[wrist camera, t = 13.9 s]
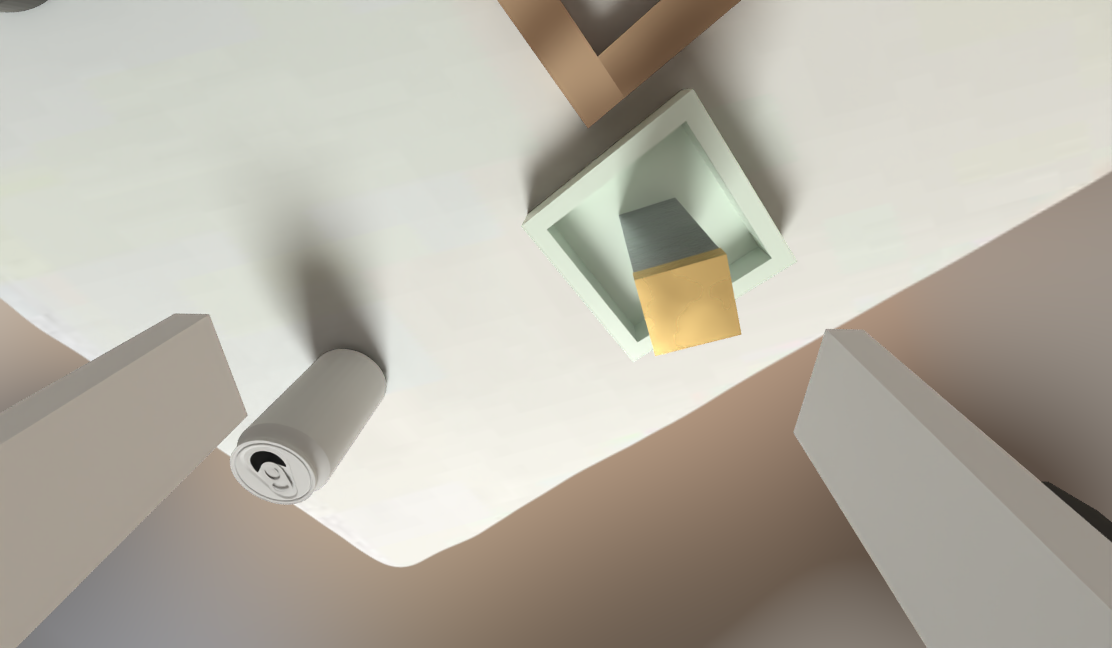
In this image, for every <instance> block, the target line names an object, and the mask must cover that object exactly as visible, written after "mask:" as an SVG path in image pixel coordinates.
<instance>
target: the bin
mask: <svg viewBox="0 0 1112 648" xmlns="http://www.w3.org/2000/svg"><path fill="white" fill-rule="evenodd" d="M672 198H676V199H677V200H678V201H679V203H680V204H681V205H682V206H683V207H684V208H685V209H686V211H687V212H688V213H689V214H690V215H691V216H692V217H693V219H694V220H695V221H696V222H697V223H698V224H699V226H700V227H701V228H702V229H703V230H704V231H705V232H706V234H707V235H708V236H709V237H710V238H711V239H712V241H713V242H714V243H715V244H716V245H717V246H718V247H719V248H721V249H722V250H723V251H724V252H725V253H726V254H727V259H728V265H729V270H730V275H731V281H732V286H733V292H734V297H735V300H736V299H737V298H739V297H740V296H742V295H744V294H745V293H747V292H749V291H750V290H752V289H754V288H755V287H757V286H758V285H760V284H762V283H763V282H765V281H767V280H768V279H770V278H771V277H773V276H775V275H776V274H778V273H780V272H781V271H783V270H785V269H786V268H788V267H789V266H791V265H793V264H794V263H796V262H797V260H796V258H795V257H794V255H793V254H792V252H791V250H790V249H789V247H788V245H787V244H786V242H785V240H784V239H783V237H782V235H781V234H780V232H779V230H778V229H777V227H776V225H775V224H774V222H773V220H772V219H771V217H770V215H769V214H768V212H767V210H766V209H765V207H764V205H763V204H762V202H761V200H760V199H759V197H758V196H757V194H756V192H755V191H754V189H753V187H752V186H751V184H750V182H749V181H748V179H747V177H746V176H745V174H744V172H743V171H742V169H741V167H740V166H739V164H738V162H737V161H736V159H735V157H734V156H733V154H732V152H731V151H730V149H729V147H728V146H727V144H726V143H725V141H724V139H723V138H722V136H721V134H720V133H719V131H718V129H717V128H716V126H715V124H714V123H713V121H712V119H711V118H710V116H709V114H708V113H707V111H706V109H705V108H704V106H703V104H702V103H701V101H700V99H699V98H698V96H697V94H696V93H695V91H694V89H684V90H681V91H680V92H678V93H677V94H676V95H675V96H673V97H672V98H671V99H670V100H669V101H667V102H666V103H665V104H664V105H662V106H661V107H660V108H659V109H657V110H656V111H655V112H654V113H652V114H651V115H650V116H649V117H647V118H646V119H645V120H644V121H642V122H641V123H640V124H639V125H638V126H636V127H635V128H634V129H633V130H631V131H630V132H629V133H628V134H626V135H625V136H624V137H623V138H621V139H620V140H619V141H618V142H616V143H615V144H614V145H613V146H611V147H610V148H609V149H608V150H607V151H605V152H604V153H603V154H602V155H600V156H599V157H598V158H597V159H595V160H594V161H593V162H592V163H590V164H589V165H588V166H587V167H585V168H584V169H583V170H582V171H580V172H579V173H578V174H577V175H576V176H574V177H573V178H572V179H571V180H569V181H568V182H567V183H566V184H564V185H563V186H562V187H561V188H559V189H558V190H557V191H556V192H554V193H553V194H552V195H551V196H549V197H548V198H547V199H546V200H545V201H543V202H542V203H541V204H540V205H538V206H537V207H536V208H535V209H533V210H532V211H531V212H530V213H528V214H527V216H526V218H525V220H524V222H523V224H522V226H521V227H522V228H523V229H524V230H525V231H526V233H527V234H528V235H529V236H530V238H531V239H532V240H533V241H534V242H535V244H536V245H537V246H538V247H539V248H540V250H541V251H542V252H543V253H544V255H545V256H546V257H547V258H548V259H549V261H550V262H551V263H552V264H553V265H554V267H555V268H556V269H557V270H558V272H559V273H560V274H561V275H562V276H563V278H564V279H565V280H566V281H567V282H568V284H569V285H570V286H571V287H572V289H573V290H574V291H575V292H576V293H577V295H578V296H579V297H580V298H581V300H582V301H583V302H584V303H585V304H586V306H587V307H588V308H589V309H590V310H591V312H592V313H593V314H594V315H595V317H596V318H597V319H598V320H599V321H600V323H601V324H602V325H603V326H604V327H605V329H606V330H607V331H608V332H609V334H610V335H611V336H612V337H613V338H614V340H615V341H616V342H617V343H618V344H619V346H620V347H621V348H622V349H623V351H624V352H625V353H626V354H627V355H628V357H629V358H630V359H631V360H632V362H634V361H636V360H638V359H639V358H641V357H643V356H644V355H646V354H647V353H649V352H651V351H652V350H653V346H652V342H651V339H650V335H649V332H648V328H647V324H646V321H645V317H644V314H643V310H642V306H641V303H640V299H639V296H638V292H637V288H636V285H635V281H634V277H633V269H632V265H631V261H630V257H629V254H628V250H627V246H626V242H625V238H624V234H623V230H622V227H621V223H620V219H619V215H621V214H624V213H627V212H630V211H633V210H637V209H640V208H643V207H646V206H649V205H653V204H656V203H659V202H662V201H665V200H668V199H672Z"/></svg>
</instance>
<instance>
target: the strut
mask: <svg viewBox="0 0 1112 648" xmlns="http://www.w3.org/2000/svg"><path fill="white" fill-rule="evenodd" d="M619 219H620V223H621V227H622V230H623V234H624V238H625V242H626V246H627V250H628V254H629V257H630V261H631V265H632V269H633V277H634V281H635V285H636V288H637V292H638V296H639V299H640V303H641V306H642V310H643V314H644V317H645V321H646V324H647V328H648V332H649V335H650V339H651V342H652V346H653V350H654V353H655V356H657V355H661V354H665V353H669V352H673V351H677V350H681V349H685V348H689V347H693V346H697V345H701V344H705V343H709V342H713V341H717V340H721V339H725V338H729V337H733V336H737V335H741V330H740V324H739V319H738V314H737V308H736V303H735V297H734V292H733V286H732V281H731V275H730V270H729V265H728V259H727V254H726V253H725V252H724V251H723V250H722V249H721V248H719V247H718V246H717V245H716V244H715V243H714V242H713V241H712V239H711V238H710V237H709V236H708V235H707V234H706V232H705V231H704V230H703V229H702V228H701V227H700V226H699V224H698V223H697V222H696V221H695V220H694V219H693V217H692V216H691V215H690V214H689V213H688V212H687V211H686V209H685V208H684V207H683V206H682V205H681V204H680V203H679V201H678V200H677V199H676V198H672V199H668V200H665V201H662V202H659V203H656V204H653V205H649V206H646V207H643V208H640V209H637V210H633V211H630V212H627V213H624V214H621V215H619Z"/></svg>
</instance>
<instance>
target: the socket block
mask: <svg viewBox="0 0 1112 648" xmlns="http://www.w3.org/2000/svg"><path fill="white" fill-rule="evenodd" d="M740 1H741V0H660V1H659V2H658V3H657V4H656V5H655V6H654V7H653V8H651V9H650V10H649V11H648V12H647V13H646V14H645V15H644V16H642V17H641V18H640V19H639V20H638V21H637V22H636V23H635V24H633V25H632V26H631V27H630V28H629V29H628V30H627V31H626V32H625V33H623V34H622V35H621V36H620V37H619V38H618V39H617V40H616V41H614V42H613V43H612V44H611V45H610V46H609V47H608V48H607V49H605V50H604V51H603V52H602V53H601V54H600V55H599V56H598V57H597V55H596V54H595V52H594V51H593V49H592V47H591V46H590V44H589V43H588V41H587V40H586V38H585V37H584V35H583V34H582V32H581V31H580V29H579V28H578V26H577V25H576V23H575V22H574V20H573V19H572V17H571V16H570V14H569V13H568V11H567V10H566V8H565V7H564V5H563V4H562V2H561V1H560V0H498V2H499V3H500V5H501V6H502V8H503V9H504V10H505V12H506V13H507V15H508V16H509V17H510V19H511V20H512V22H513V23H514V25H515V26H516V27H517V29H518V30H519V32H520V33H521V34H522V36H523V37H524V39H525V40H526V42H527V43H528V44H529V46H530V47H531V49H532V50H533V51H534V53H535V54H536V56H537V57H538V59H539V60H540V61H541V63H542V64H543V66H544V67H545V68H546V70H547V71H548V73H549V74H550V76H551V77H552V78H553V80H554V81H555V83H556V84H557V85H558V87H559V88H560V90H561V91H562V92H563V94H564V95H565V97H566V98H567V100H568V101H569V102H570V104H571V105H572V107H573V108H574V109H575V111H576V112H577V114H578V115H579V117H580V118H581V119H582V121H583V122H584V124H585V125H586V126H587V128H589V127H590V126H592V125H593V124H594V123H595V122H596V121H598V120H599V119H600V118H601V117H602V116H604V115H605V114H606V113H607V112H608V111H610V110H611V109H612V108H613V107H614V106H616V105H617V104H618V103H619V102H620V101H621V100H623V99H624V98H625V97H626V96H627V95H629V94H630V93H631V92H632V91H633V90H635V89H636V88H637V87H638V86H639V85H641V84H642V83H643V82H644V81H645V80H647V79H648V78H649V77H650V76H651V75H652V74H654V73H655V72H656V71H657V70H658V69H660V68H661V67H662V66H663V65H664V64H666V63H667V62H668V61H669V60H670V59H672V58H673V57H674V56H675V55H676V54H678V53H679V52H680V51H681V50H682V49H683V48H685V47H686V46H687V45H688V44H689V43H691V42H692V41H693V40H694V39H695V38H697V37H698V36H699V35H700V34H701V33H703V32H704V31H705V30H706V29H707V28H709V27H710V26H711V25H712V24H713V23H715V22H716V21H717V20H718V19H719V18H720V17H722V16H723V15H724V14H725V13H726V12H728V11H729V10H730V9H731V8H732V7H734V6H735V5H736V4H737V3H738V2H740Z"/></svg>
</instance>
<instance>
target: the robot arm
mask: <svg viewBox="0 0 1112 648" xmlns="http://www.w3.org/2000/svg"><path fill="white" fill-rule="evenodd" d="M46 1H47V0H0V12H20V11H25V10H29V9H32V8H35V7H37V6H39V5H41V4H43V3H44V2H46ZM247 416H248V415H247V412H246V410H245V407H244V404H243V402H242V399H241V397H240V394H239V391H238V389H237V386H236V383H235V381H234V378H233V376H232V373H231V370H230V368H229V365H228V362H227V360H226V357H225V355H224V352H223V349H222V347H221V344H220V341H219V339H218V336H217V334H216V331H215V328H214V326H213V323H212V320H211V318H210V315H209V314H173V315H172V316H170V317H168V318H166V319H165V320H163V321H161V322H159V323H157V324H156V325H154V326H152V327H150V328H149V329H147V330H145V331H143V332H142V333H140V334H138V335H136V336H135V337H133V338H131V339H129V340H128V341H126V342H124V343H122V344H121V345H119V346H117V347H115V348H113V349H112V350H110V351H108V352H106V353H105V354H103V355H101V356H99V357H98V358H96V359H94V360H92V361H91V362H89V363H87V364H85V365H84V366H82V367H80V368H79V369H77V370H75V371H73V372H71V373H69V374H68V375H66V376H64V377H63V378H61V379H59V380H57V381H55V382H54V383H52V384H50V385H49V386H47V387H45V388H43V389H41V390H40V391H38V392H36V393H34V394H33V395H31V396H29V397H27V398H25V399H24V400H22V401H20V402H18V403H17V404H15V405H13V406H11V407H10V408H8V409H6V410H5V411H3V412H1V413H0V648H16V647H17V646H18V645H19V644H20V643H21V642H22V641H23V640H24V639H25V638H26V637H27V636H28V635H29V634H30V633H31V632H32V631H33V630H34V629H35V628H36V627H37V626H38V625H39V624H40V623H41V622H42V621H43V620H44V619H45V618H46V617H47V616H48V615H49V614H50V613H51V612H52V611H53V610H54V609H55V608H56V607H57V606H58V605H59V604H60V603H61V602H62V601H63V600H64V599H65V598H66V597H67V596H68V595H69V594H70V593H71V592H72V591H73V590H74V589H75V588H76V587H77V586H78V585H79V584H80V583H81V582H82V581H83V580H84V579H85V578H86V577H87V576H88V575H89V574H90V573H91V572H92V571H93V570H94V569H95V568H96V567H97V566H98V565H99V564H100V563H101V562H102V561H103V560H104V559H105V558H106V557H107V556H108V555H109V554H110V553H111V552H112V551H113V550H114V549H115V548H116V547H117V546H118V545H119V544H120V543H121V542H122V541H123V540H124V539H125V538H126V537H127V536H128V535H129V534H130V533H131V532H132V531H133V530H134V529H135V528H136V527H137V526H138V525H139V524H140V523H141V522H142V521H143V520H144V519H145V518H146V517H147V516H148V515H149V514H150V513H151V512H152V511H153V510H154V509H155V508H156V507H157V506H158V505H159V504H160V503H161V502H162V501H163V500H164V499H165V498H166V497H167V496H168V495H169V494H170V493H171V492H172V491H173V490H174V489H175V488H176V487H177V486H178V485H179V484H180V483H181V482H182V481H183V480H184V479H185V478H186V477H187V476H188V475H189V474H190V473H191V472H192V471H193V470H194V469H195V468H196V467H197V466H198V465H199V464H200V463H201V462H202V461H203V460H204V459H205V458H206V457H207V456H208V455H209V454H210V453H211V452H212V451H213V450H214V449H215V448H216V447H217V446H218V445H219V444H220V443H221V442H222V441H223V440H224V439H225V438H226V437H227V436H228V435H229V434H230V433H231V432H232V431H233V430H234V429H235V428H236V427H237V426H238V425H239V424H240V423H241V422H242V421H243V420H244V419H245V418H246V417H247ZM794 434H795V436H796V437H797V439H798V441H799V442H800V444H801V445H802V447H803V449H804V450H805V452H806V454H807V455H808V457H809V458H810V460H811V461H812V463H813V465H814V466H815V468H816V470H817V471H818V473H819V475H820V476H821V478H822V479H823V481H824V483H825V484H826V486H827V487H828V489H829V491H830V492H831V494H832V495H833V497H834V499H835V500H836V502H837V504H838V505H839V507H840V508H841V510H842V512H843V513H844V515H845V516H846V518H847V520H848V521H849V523H850V524H851V526H852V528H853V529H854V531H855V533H856V534H857V536H858V537H859V539H860V541H861V542H862V544H863V545H864V547H865V549H866V550H867V552H868V553H869V555H870V556H871V558H872V560H873V562H874V563H875V564H876V566H877V568H878V570H879V571H880V573H881V574H882V576H883V578H884V579H885V581H886V583H887V584H888V586H889V587H890V589H891V590H892V592H893V594H894V595H895V597H896V599H897V600H898V602H899V603H900V605H901V607H902V608H903V610H904V612H905V613H906V615H907V616H908V618H909V620H910V621H911V623H912V624H913V626H914V628H915V629H916V631H917V632H918V634H919V636H920V637H921V639H922V641H923V642H924V644H925V645H926V647H927V648H1112V522H1111V521H1109V520H1108V519H1107V518H1106V517H1105V516H1103V515H1102V514H1101V513H1100V512H1098V511H1097V510H1095V509H1094V508H1092V507H1090V506H1089V505H1087V504H1085V503H1083V502H1082V501H1080V500H1078V499H1077V498H1075V497H1073V496H1072V495H1070V494H1068V493H1066V492H1065V491H1063V490H1061V489H1060V488H1058V487H1056V486H1055V485H1053V484H1051V483H1049V482H1041V481H1039V480H1038V479H1037V478H1036V477H1035V476H1033V475H1032V474H1031V473H1030V472H1029V471H1028V470H1027V469H1025V468H1024V467H1023V466H1022V465H1021V464H1020V463H1018V462H1017V461H1016V460H1015V459H1014V458H1013V457H1011V456H1010V455H1009V454H1008V453H1007V452H1006V451H1004V450H1003V449H1002V448H1001V447H1000V446H999V445H997V444H996V443H995V442H994V441H993V440H991V439H990V438H989V437H988V436H987V435H986V434H984V433H983V432H982V431H981V430H980V429H979V428H978V427H976V426H975V425H974V424H973V423H972V422H971V421H969V420H968V419H967V418H966V417H965V416H964V415H962V414H961V413H960V412H959V411H958V410H957V409H955V408H954V407H953V406H952V405H951V404H949V403H948V402H947V401H946V400H945V399H943V398H942V397H941V396H940V395H939V394H938V393H937V392H936V391H934V390H933V389H932V388H931V387H930V386H928V385H927V384H926V383H925V382H924V381H923V380H921V379H920V378H919V377H918V376H917V375H916V374H914V373H913V372H912V371H911V370H910V369H909V368H907V367H906V366H905V365H904V364H903V363H902V362H901V361H899V360H898V359H897V358H896V357H895V356H894V355H892V354H891V353H890V352H889V351H888V350H886V349H885V348H884V347H883V346H882V345H881V344H880V343H878V342H877V341H876V340H875V339H874V338H873V337H871V336H870V335H869V334H868V333H867V332H866V331H864V330H847V329H846V330H845V329H826V330H825V333H824V337H823V340H822V343H821V346H820V349H819V353H818V356H817V359H816V362H815V365H814V369H813V372H812V375H811V378H810V381H809V385H808V388H807V391H806V394H805V397H804V401H803V404H802V407H801V410H800V414H799V417H798V420H797V423H796V426H795V430H794Z"/></svg>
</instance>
